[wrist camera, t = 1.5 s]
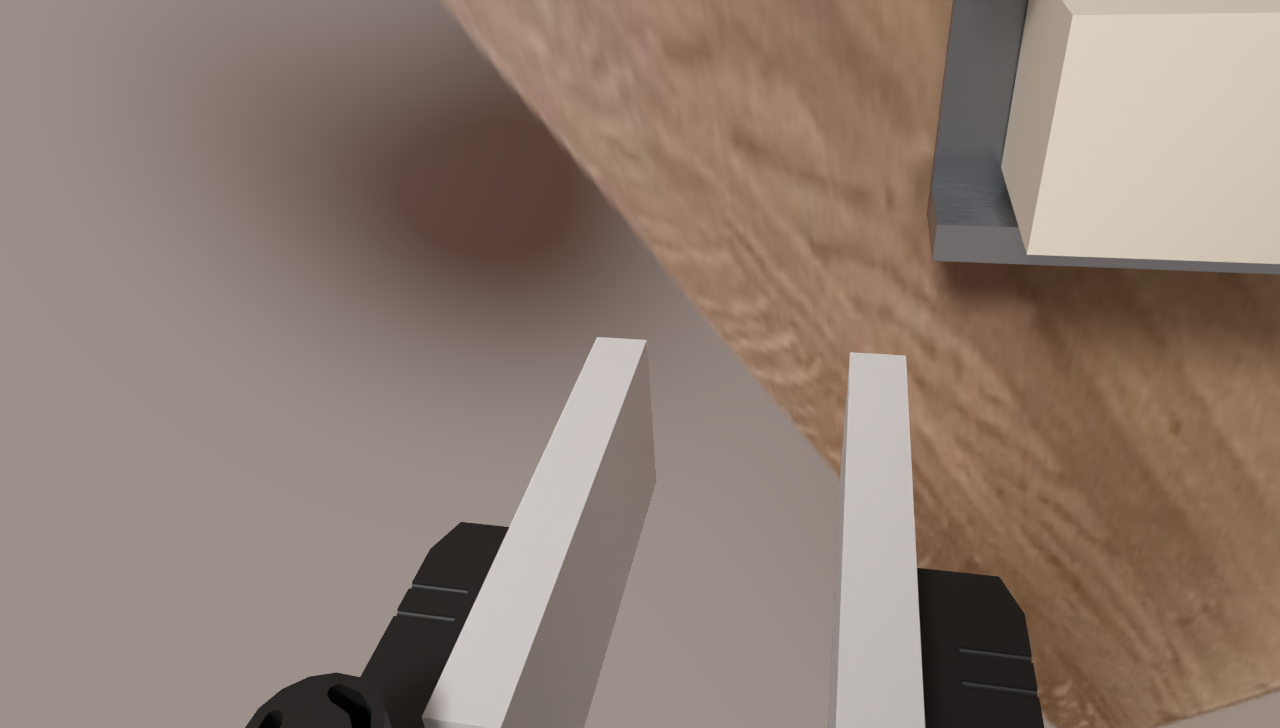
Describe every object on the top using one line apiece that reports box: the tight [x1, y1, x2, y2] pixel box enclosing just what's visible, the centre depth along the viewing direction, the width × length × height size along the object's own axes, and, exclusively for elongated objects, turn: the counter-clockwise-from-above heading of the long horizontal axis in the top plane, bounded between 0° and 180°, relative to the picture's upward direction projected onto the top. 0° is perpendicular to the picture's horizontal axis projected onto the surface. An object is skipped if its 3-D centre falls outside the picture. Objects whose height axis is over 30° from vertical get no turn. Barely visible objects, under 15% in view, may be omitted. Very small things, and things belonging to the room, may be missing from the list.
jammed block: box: [1001, 0, 1280, 264], centre depth 24 cm, size 6×8×6 cm
